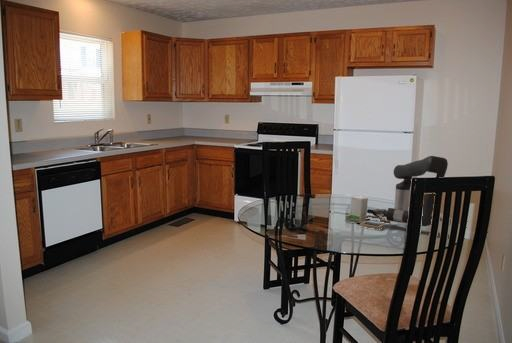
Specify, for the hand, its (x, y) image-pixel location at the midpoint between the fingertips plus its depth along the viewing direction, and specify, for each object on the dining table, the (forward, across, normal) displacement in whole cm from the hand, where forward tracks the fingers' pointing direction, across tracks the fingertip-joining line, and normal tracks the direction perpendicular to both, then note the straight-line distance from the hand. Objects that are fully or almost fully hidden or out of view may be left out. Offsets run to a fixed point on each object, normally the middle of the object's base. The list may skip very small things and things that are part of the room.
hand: (367, 210), depth 251 cm
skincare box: (+6, +1, +8) cm, 9 cm away
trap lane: (-1, 0, +8) cm, 8 cm away
